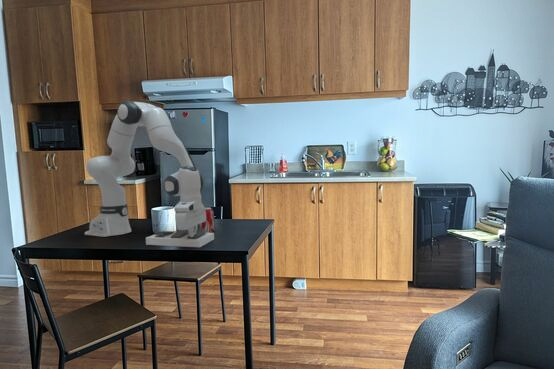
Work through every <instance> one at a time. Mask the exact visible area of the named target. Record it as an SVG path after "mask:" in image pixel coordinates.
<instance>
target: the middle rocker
mask: <svg viewBox="0 0 554 369" xmlns="http://www.w3.org/2000/svg"><path fill="white" fill-rule="evenodd" d="M176 231H177V232H176V233H175V234H173V235H172V236H171V238H181V237H183V236H185V235H186V234H187V233H188V230H187V229H186V230H178V229H177V230H176Z"/></svg>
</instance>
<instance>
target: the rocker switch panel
mask: <svg viewBox="0 0 554 369" xmlns="http://www.w3.org/2000/svg"><path fill="white" fill-rule="evenodd" d="M172 231H173V232H174V233H173V234H175V233H176V232H177V231H178V230H172ZM173 234H170V235H155V233H154V234H152V235H150V236H146V237H145V245H146V246H147V245H149V246H150V245H151V246H165V247H166V246H169V247H186V248H201V247H203V246H205V245H207V244H209V243H211V242H212V241H214V240H215V233H214V232H211V233H205V234H203V235H202V236H201V237H199V238H197V239H187V236H189V232H188V233H187V234H186V235H185V236H183V237H181V238H171V236H172V235H173Z"/></svg>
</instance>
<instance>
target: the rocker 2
mask: <svg viewBox="0 0 554 369" xmlns="http://www.w3.org/2000/svg"><path fill="white" fill-rule="evenodd" d="M203 234H205V230H203V229H200V228H199V229H198V228H197V231H196V235H195V236H193V237H190V236H187V239H197V238H199V237H201V236H202V235H203Z"/></svg>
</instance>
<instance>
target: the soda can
mask: <svg viewBox="0 0 554 369" xmlns="http://www.w3.org/2000/svg"><path fill="white" fill-rule="evenodd" d="M204 207H205V211H206V221H205V222H203V223H200V224H198V225H199V229H203V230H205V233H213V231H215V221H214V220H215V218H214V217H215V216H214V215H215V214H214V210H213V208H212V207H210V206H209V207H208V206H207V207H206V206H204Z"/></svg>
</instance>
